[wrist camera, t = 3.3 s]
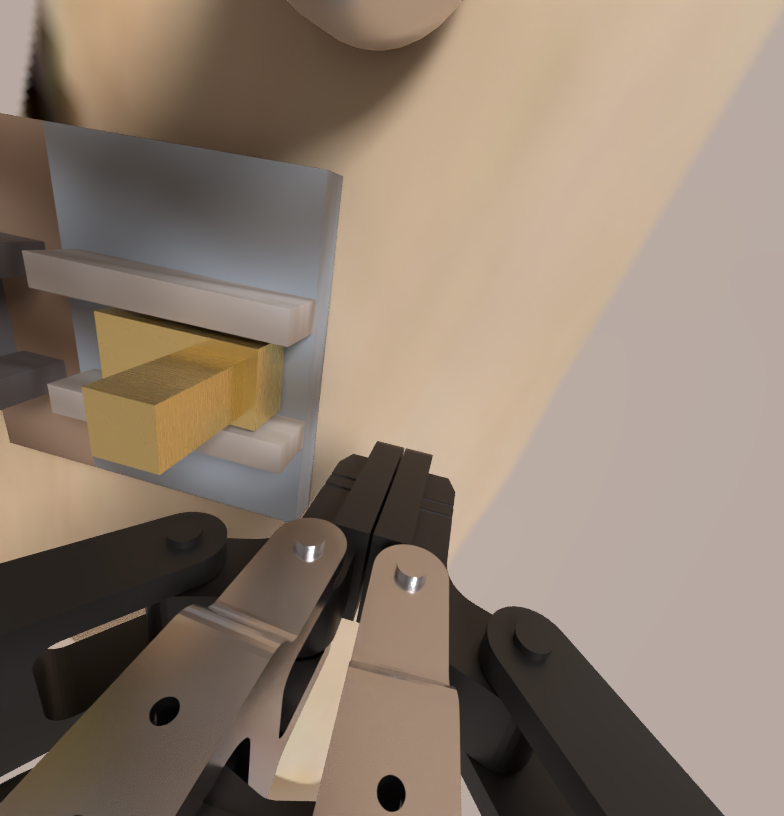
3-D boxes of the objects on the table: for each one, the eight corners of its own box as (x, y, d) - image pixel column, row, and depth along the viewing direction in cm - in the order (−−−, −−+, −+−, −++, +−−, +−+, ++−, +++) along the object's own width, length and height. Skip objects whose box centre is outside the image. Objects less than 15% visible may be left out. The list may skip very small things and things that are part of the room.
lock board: (-26, 112, 16) (-192, 71, 12) (342, 176, 14) (288, 152, 10) (40, 429, 22) (-58, 471, 18) (308, 504, 20) (265, 569, 16)
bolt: (139, 302, 16) (-44, 336, 10) (285, 336, 15) (171, 391, 10) (145, 375, 17) (-16, 440, 12) (280, 409, 16) (177, 495, 11)
